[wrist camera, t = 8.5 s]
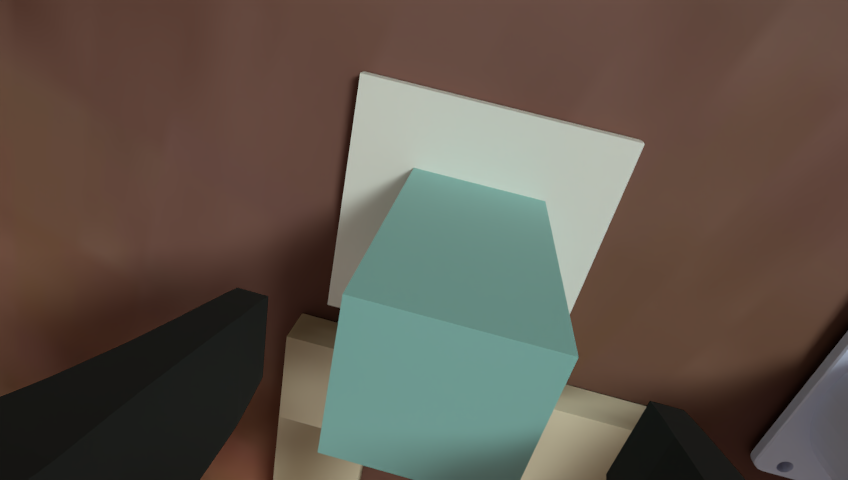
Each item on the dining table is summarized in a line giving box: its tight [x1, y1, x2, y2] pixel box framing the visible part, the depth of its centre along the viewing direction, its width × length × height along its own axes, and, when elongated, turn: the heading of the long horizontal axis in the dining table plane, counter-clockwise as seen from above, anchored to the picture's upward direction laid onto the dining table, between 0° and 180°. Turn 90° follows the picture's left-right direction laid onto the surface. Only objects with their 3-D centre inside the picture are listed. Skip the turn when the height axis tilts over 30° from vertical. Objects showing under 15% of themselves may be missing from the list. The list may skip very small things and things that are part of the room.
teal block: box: [318, 168, 578, 480], centre depth 12 cm, size 4×4×7 cm
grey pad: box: [327, 71, 645, 315], centre depth 15 cm, size 8×8×1 cm
